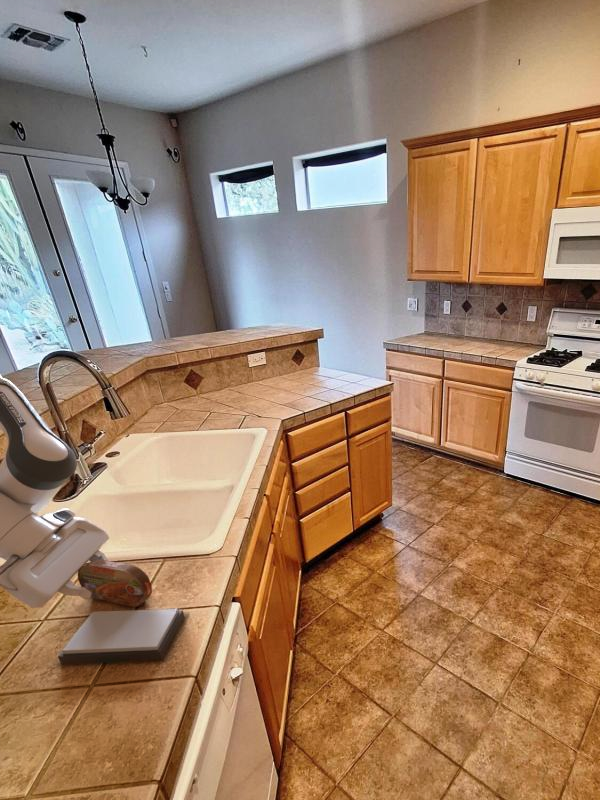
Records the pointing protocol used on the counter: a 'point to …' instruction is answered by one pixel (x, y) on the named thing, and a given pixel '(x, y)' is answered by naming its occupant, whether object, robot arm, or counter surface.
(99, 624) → the scale
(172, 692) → the counter surface
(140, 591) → the tin
